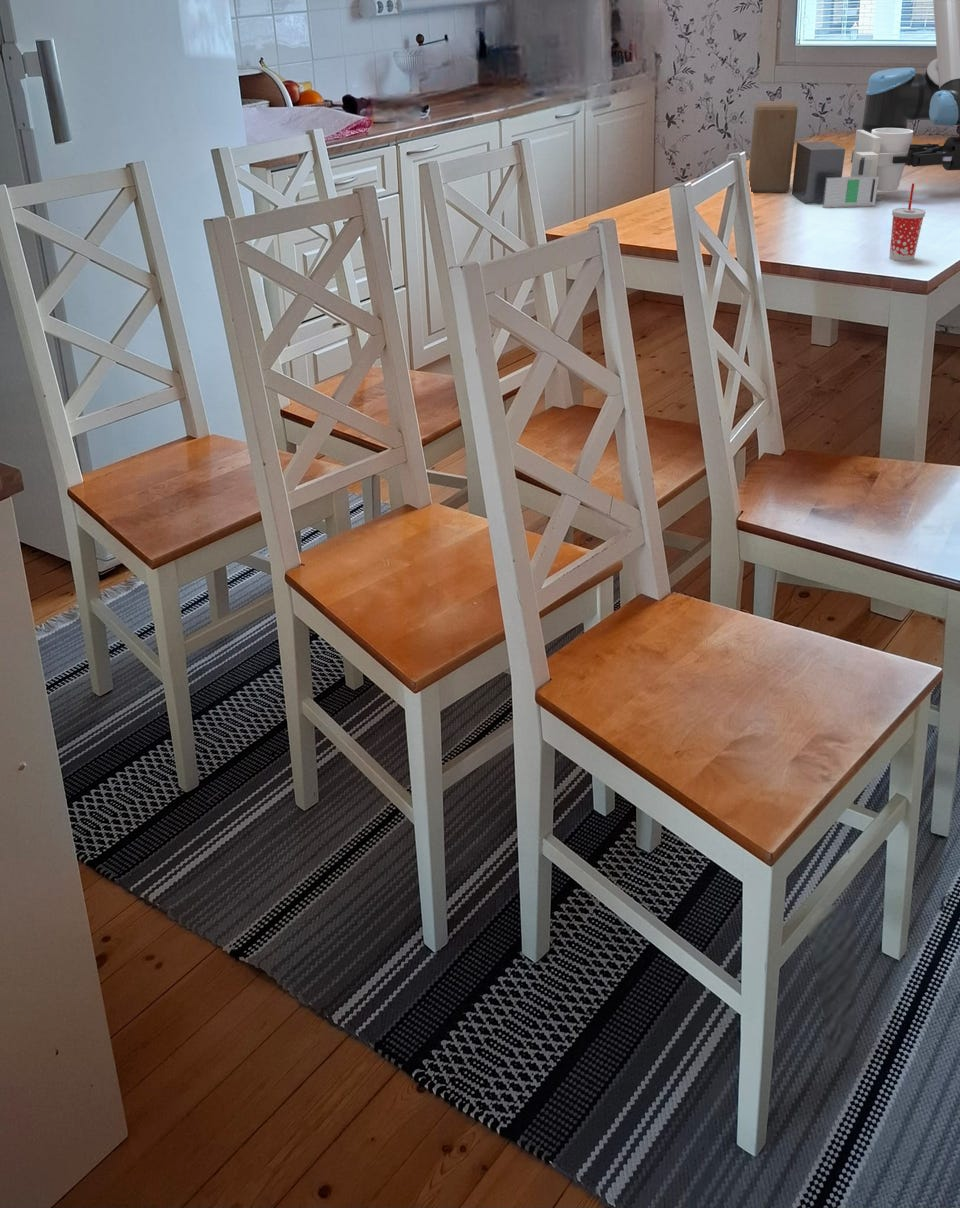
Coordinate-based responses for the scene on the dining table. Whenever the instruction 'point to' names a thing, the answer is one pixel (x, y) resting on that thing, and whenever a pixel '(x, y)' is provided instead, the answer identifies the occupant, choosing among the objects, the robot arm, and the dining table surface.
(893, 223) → the beverage cup
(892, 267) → the dining table surface
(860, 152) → the gauge slider
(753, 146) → the wooden block
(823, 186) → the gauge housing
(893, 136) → the foam cup
